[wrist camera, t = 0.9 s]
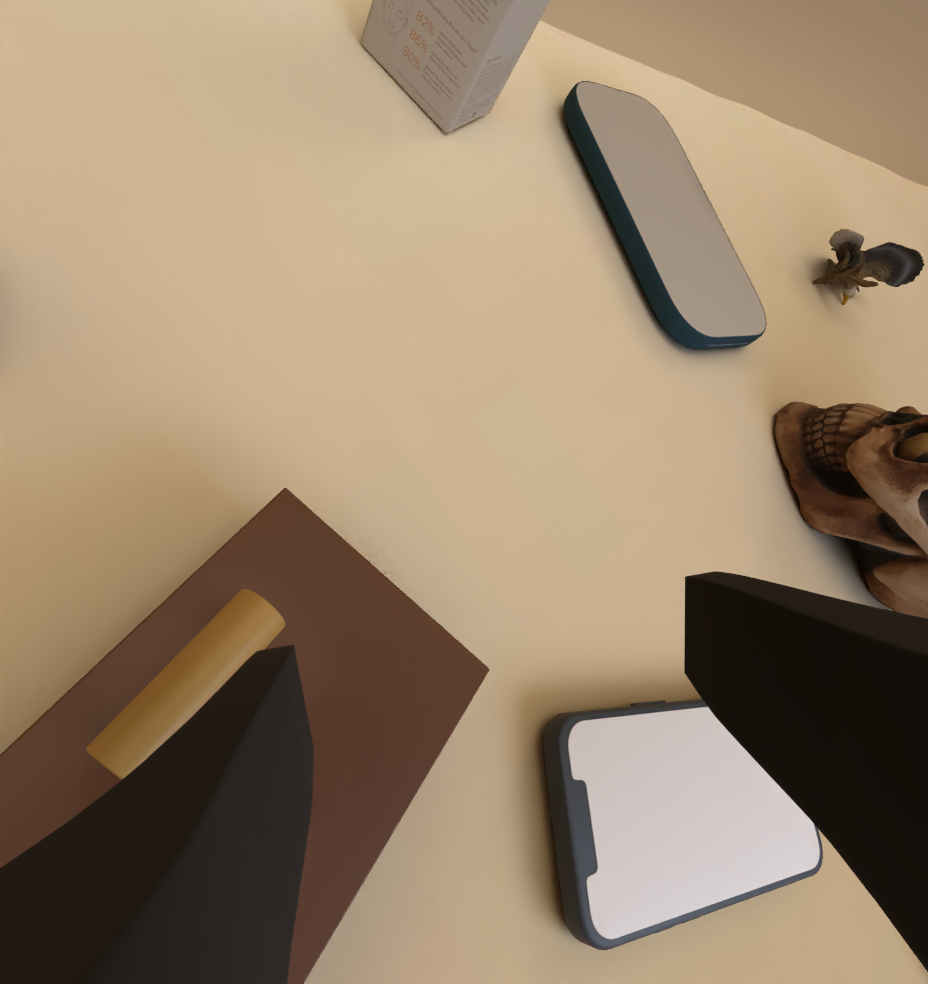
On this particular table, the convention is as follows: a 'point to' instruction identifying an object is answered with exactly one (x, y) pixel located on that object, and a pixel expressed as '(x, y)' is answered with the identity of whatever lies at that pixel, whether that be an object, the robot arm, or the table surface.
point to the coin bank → (865, 490)
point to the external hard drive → (664, 219)
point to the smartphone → (664, 820)
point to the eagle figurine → (869, 263)
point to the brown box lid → (326, 687)
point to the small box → (451, 50)
